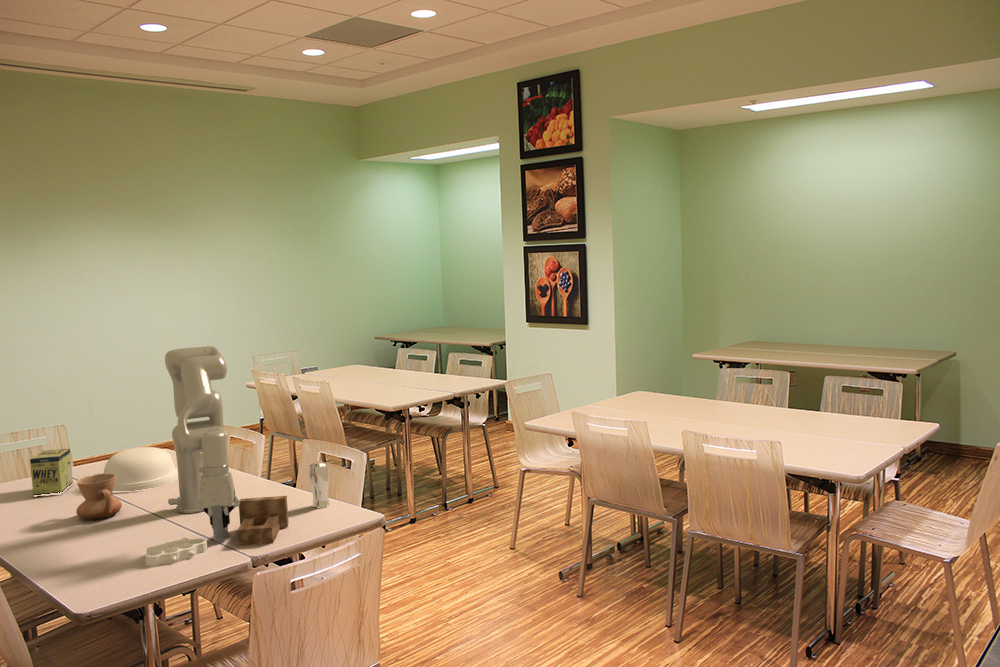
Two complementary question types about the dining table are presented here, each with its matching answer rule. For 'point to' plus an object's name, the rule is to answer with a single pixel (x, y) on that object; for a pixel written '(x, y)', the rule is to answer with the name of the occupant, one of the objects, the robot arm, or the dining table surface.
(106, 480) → the ceramic jug
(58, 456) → the protein box
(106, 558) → the dining table surface
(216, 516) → the grey rectangular block
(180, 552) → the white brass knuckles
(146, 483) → the dome cover
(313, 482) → the beer glass
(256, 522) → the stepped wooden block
